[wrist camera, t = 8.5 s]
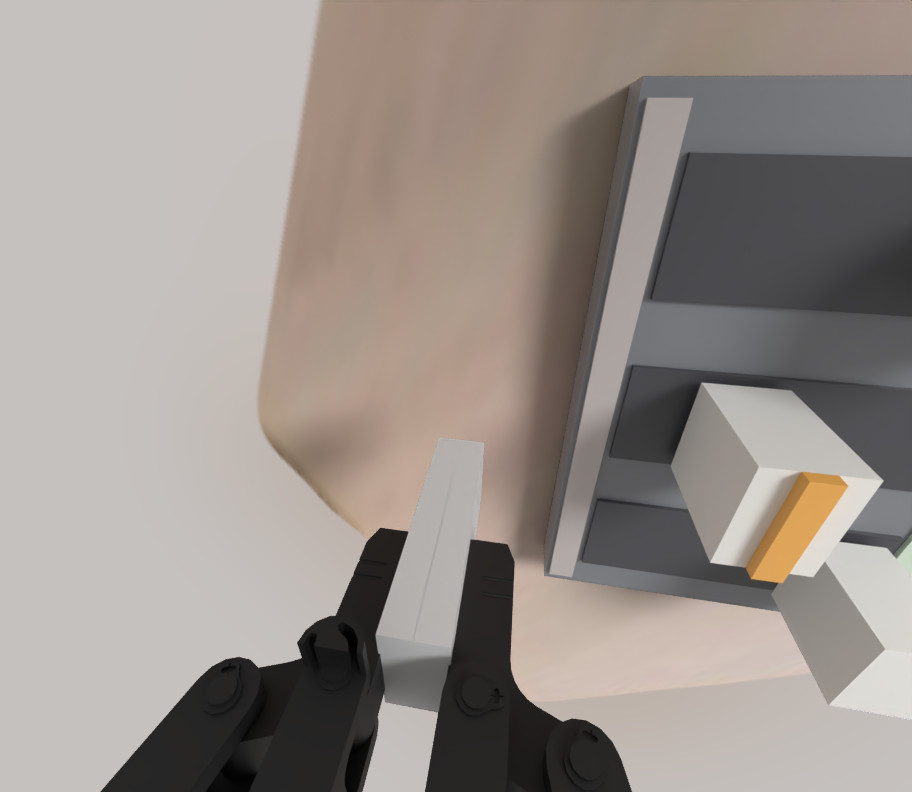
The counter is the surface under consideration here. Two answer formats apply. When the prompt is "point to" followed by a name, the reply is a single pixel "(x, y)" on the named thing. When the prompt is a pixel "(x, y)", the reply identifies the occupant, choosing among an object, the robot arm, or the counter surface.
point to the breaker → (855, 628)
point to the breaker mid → (767, 481)
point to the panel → (739, 311)
